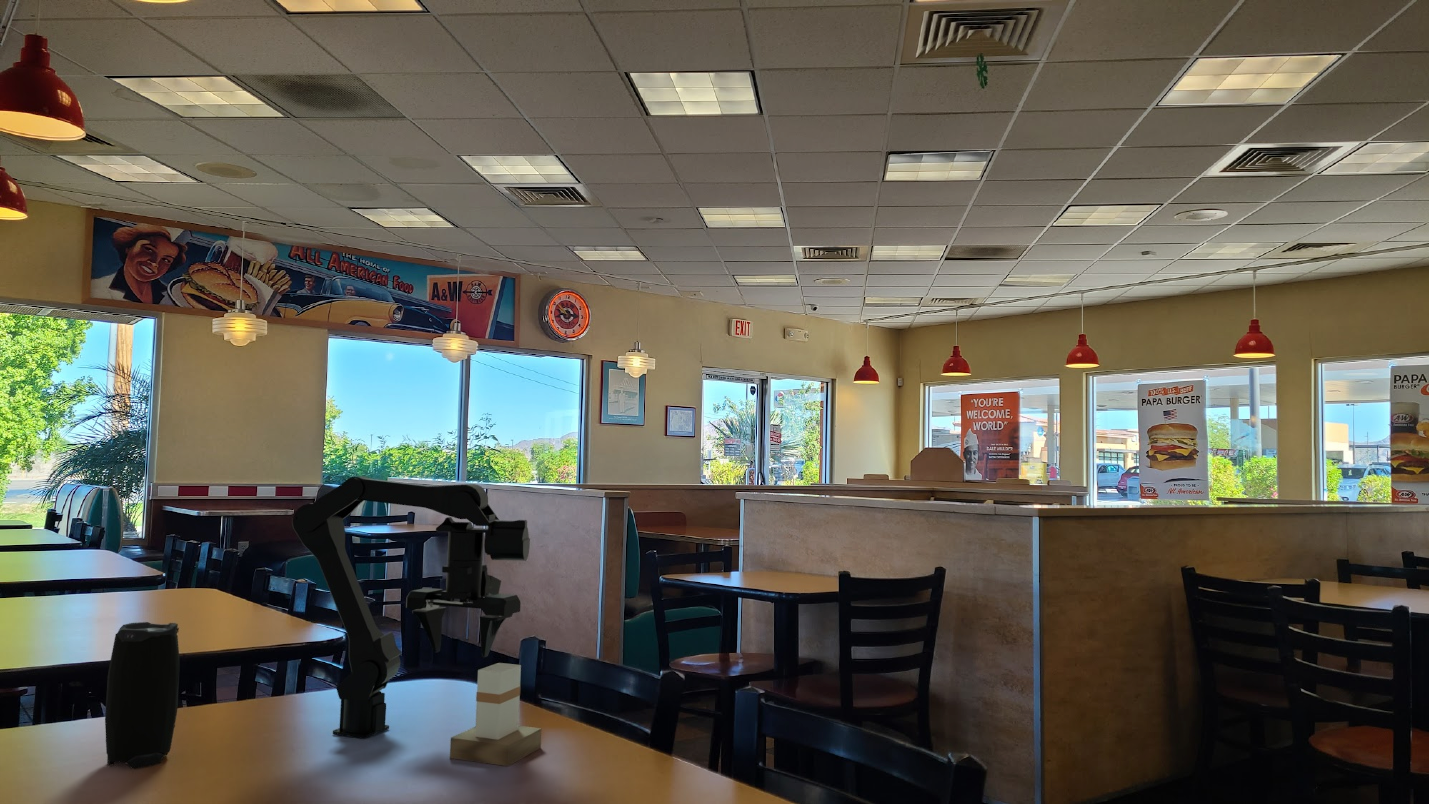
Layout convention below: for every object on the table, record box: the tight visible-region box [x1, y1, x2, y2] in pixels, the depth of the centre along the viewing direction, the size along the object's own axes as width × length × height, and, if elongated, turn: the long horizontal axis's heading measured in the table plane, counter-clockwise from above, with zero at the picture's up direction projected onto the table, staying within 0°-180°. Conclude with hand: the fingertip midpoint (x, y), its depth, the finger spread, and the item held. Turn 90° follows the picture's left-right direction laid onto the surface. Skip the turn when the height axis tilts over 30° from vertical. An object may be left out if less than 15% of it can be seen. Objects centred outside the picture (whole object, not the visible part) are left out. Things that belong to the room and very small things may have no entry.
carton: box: [474, 662, 522, 740], centre depth 147 cm, size 4×6×10 cm
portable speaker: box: [104, 621, 181, 770], centre depth 138 cm, size 9×9×20 cm
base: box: [449, 725, 542, 767], centre depth 146 cm, size 10×10×3 cm
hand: (460, 654), depth 156 cm, fingers open, 9 cm apart
